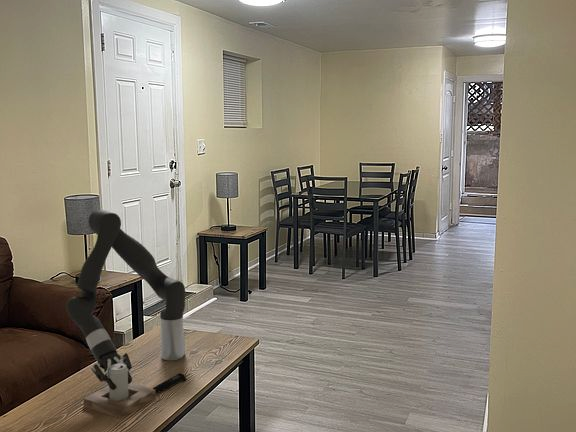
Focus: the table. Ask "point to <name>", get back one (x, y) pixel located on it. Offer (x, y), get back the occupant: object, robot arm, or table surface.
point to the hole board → (119, 409)
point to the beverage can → (119, 382)
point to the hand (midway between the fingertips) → (122, 385)
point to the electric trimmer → (170, 382)
